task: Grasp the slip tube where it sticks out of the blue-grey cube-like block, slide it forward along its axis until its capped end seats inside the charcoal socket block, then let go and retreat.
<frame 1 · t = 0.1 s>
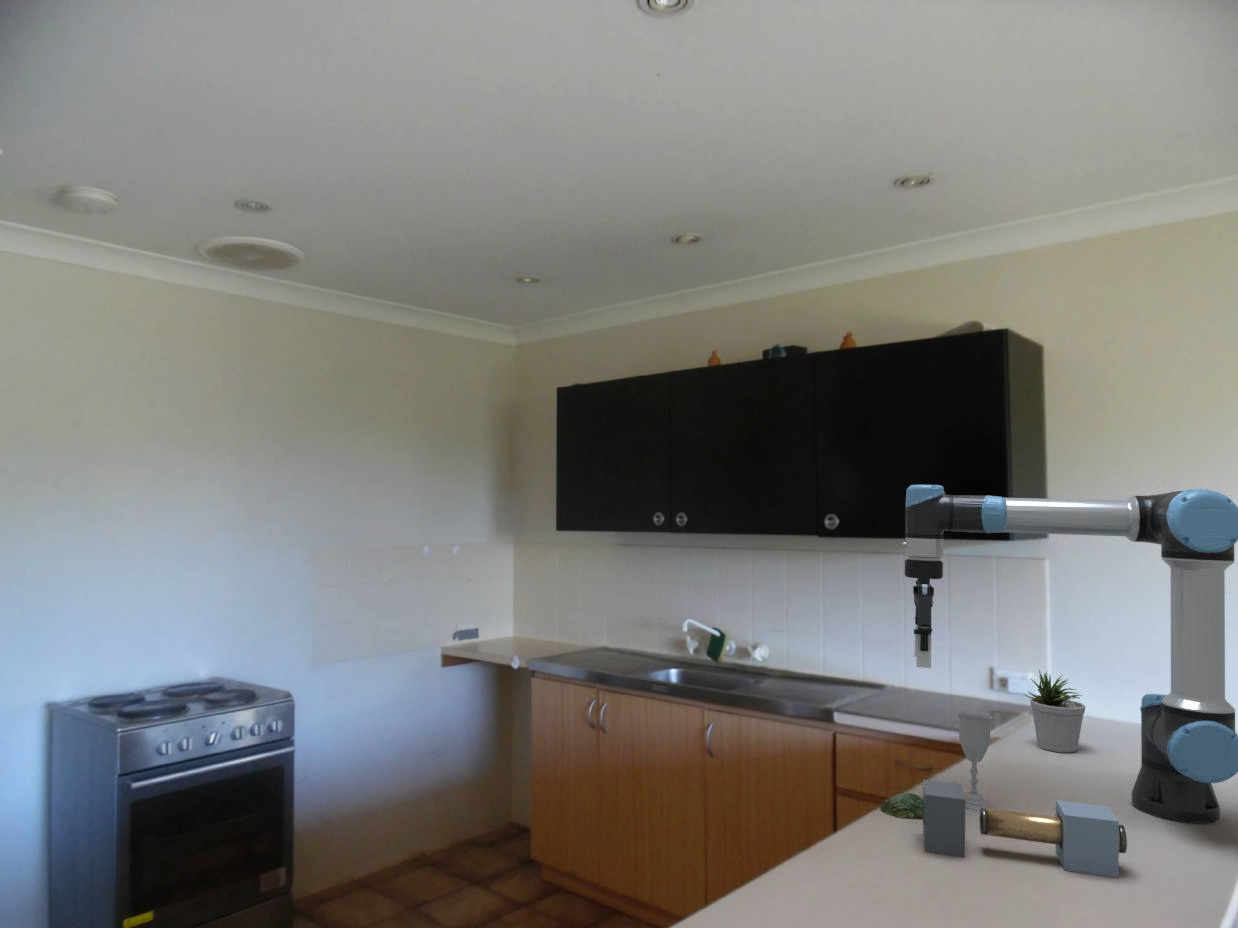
hand: (922, 661, 179), 28 cm above the table, fingers open, 13 cm apart
potted plant: (1054, 748, 221), on the table
seashell: (906, 813, 170), on the table
blue-grey cube-like block: (1086, 864, 146), on the table
chalice: (973, 806, 175), on the table
socket: (943, 844, 153), on the table
slip tube: (1050, 829, 148), point 5 cm above the table, slide at 0.0 cm
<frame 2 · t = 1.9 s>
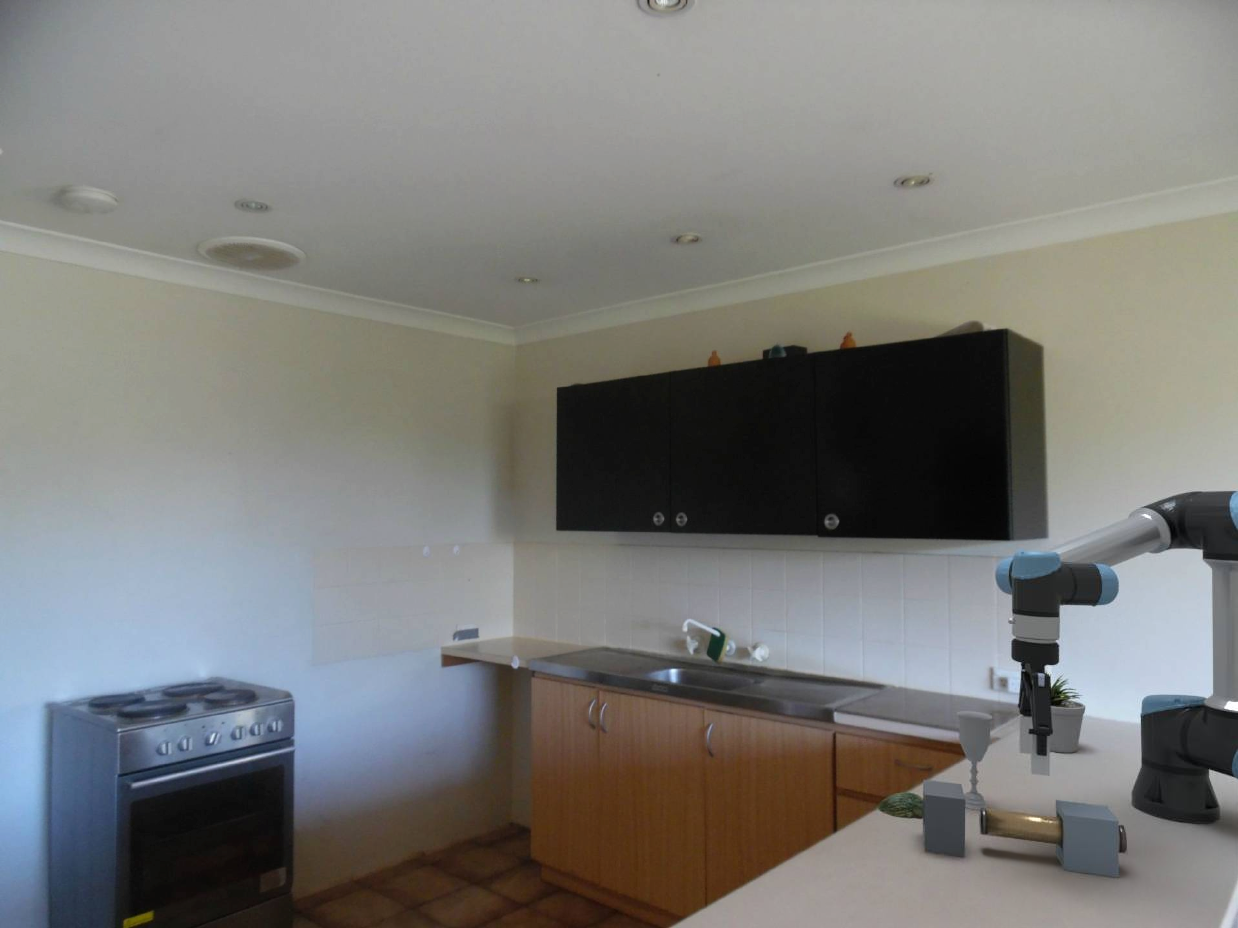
hand: (1033, 763, 150), 16 cm above the table, fingers open, 13 cm apart
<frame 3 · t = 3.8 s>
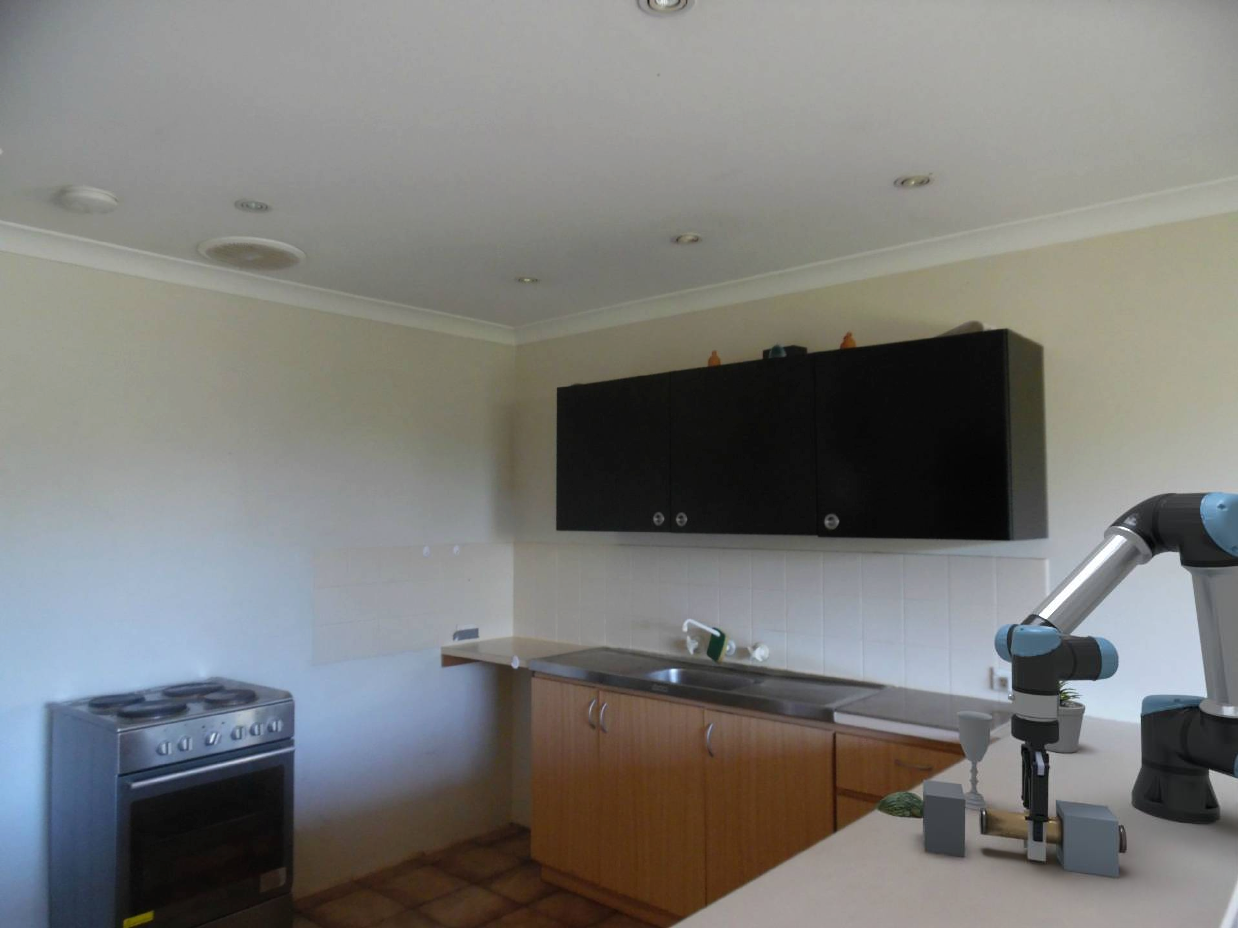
hand: (1034, 853, 149), 1 cm above the table, fingers closed on slip tube, 4 cm apart
slip tube: (1050, 829, 148), point 5 cm above the table, slide at 0.0 cm, touching gripper
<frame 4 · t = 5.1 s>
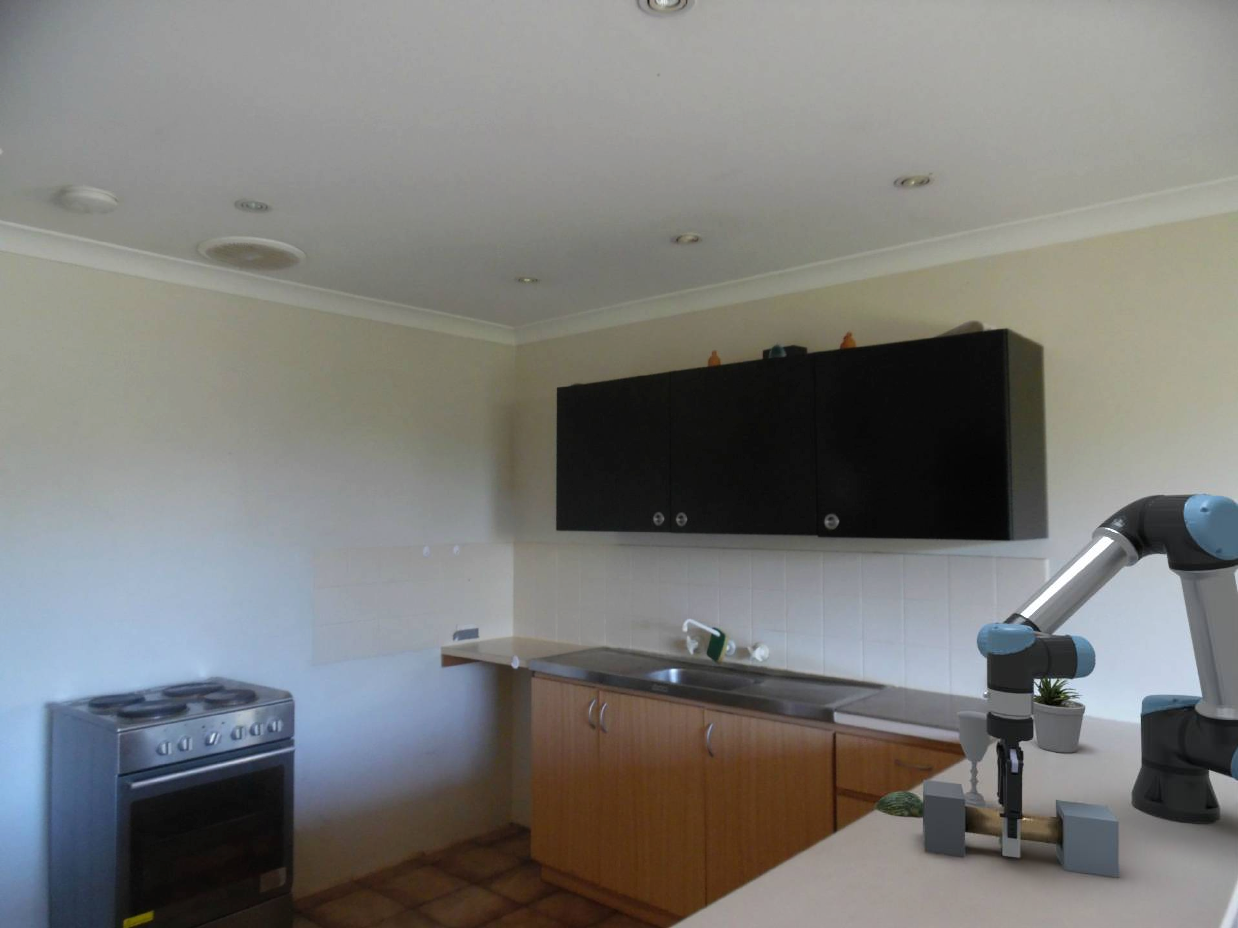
hand: (1009, 849, 150), 1 cm above the table, fingers closed on slip tube, 4 cm apart
slip tube: (1025, 826, 149), point 5 cm above the table, slide at 4.0 cm, touching gripper
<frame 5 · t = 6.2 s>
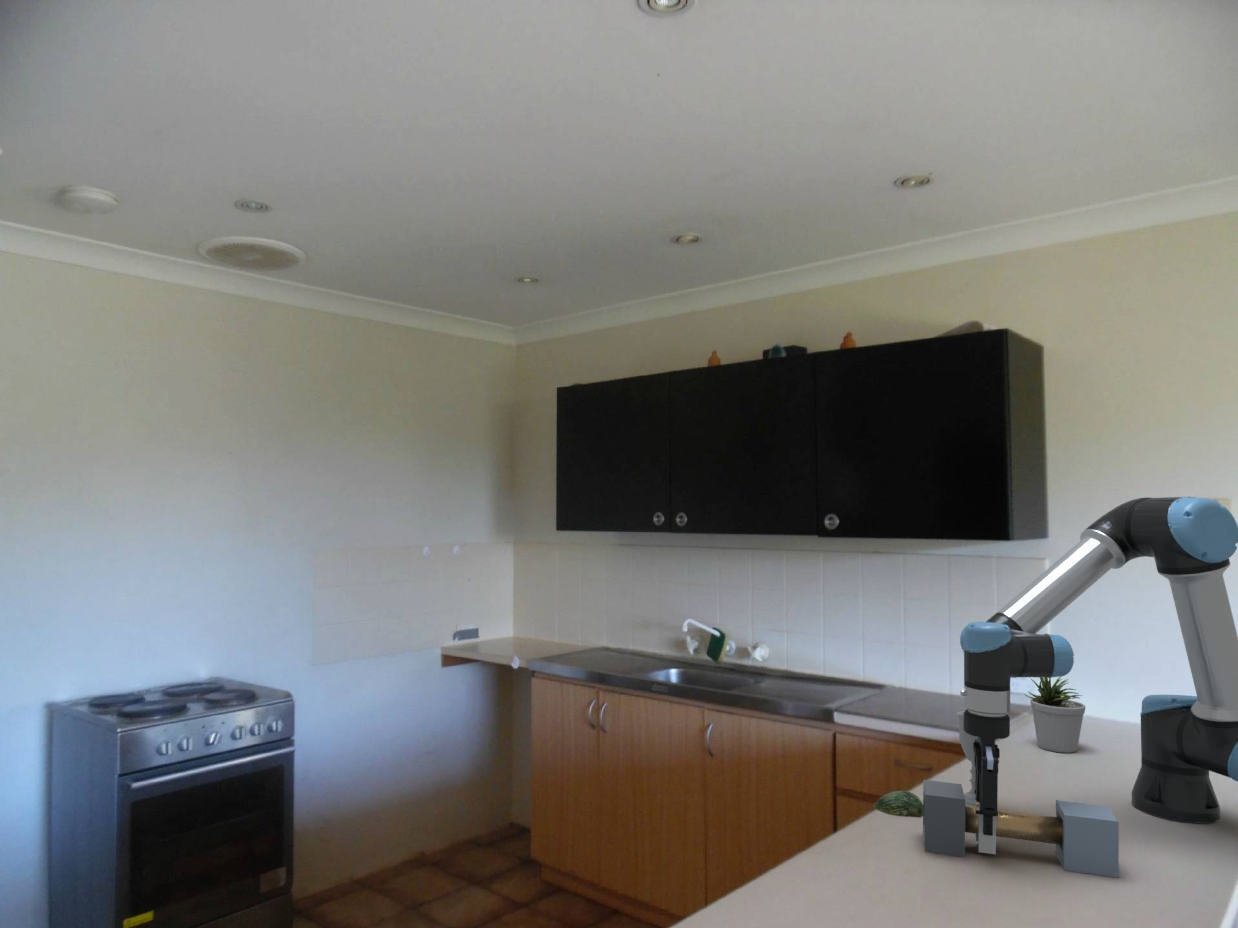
hand: (985, 846, 151), 1 cm above the table, fingers closed on slip tube, 4 cm apart
slip tube: (1001, 823, 151), point 5 cm above the table, slide at 7.8 cm, touching gripper
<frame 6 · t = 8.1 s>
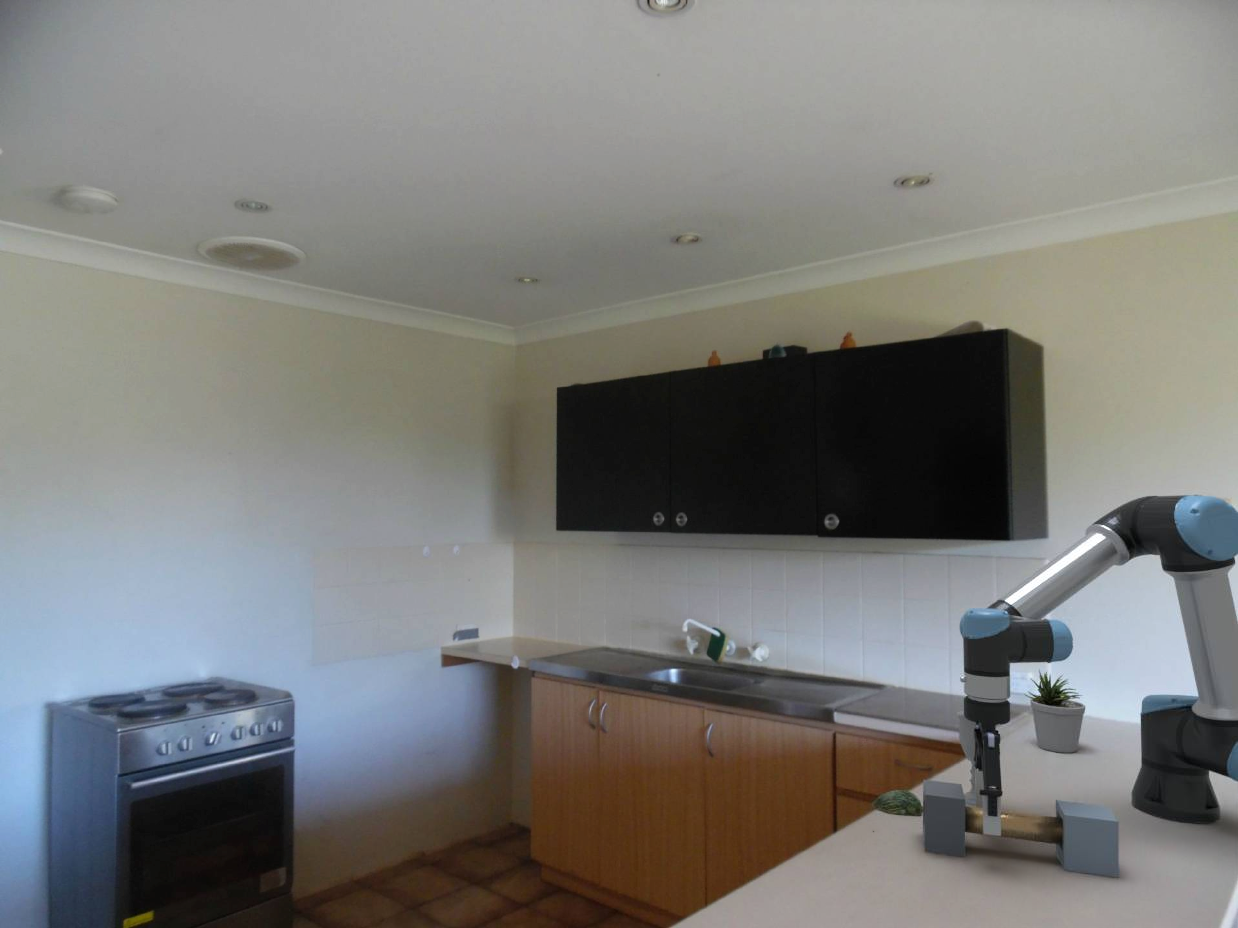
hand: (987, 820, 151), 5 cm above the table, fingers open, 13 cm apart
slip tube: (1001, 823, 151), point 5 cm above the table, slide at 7.8 cm
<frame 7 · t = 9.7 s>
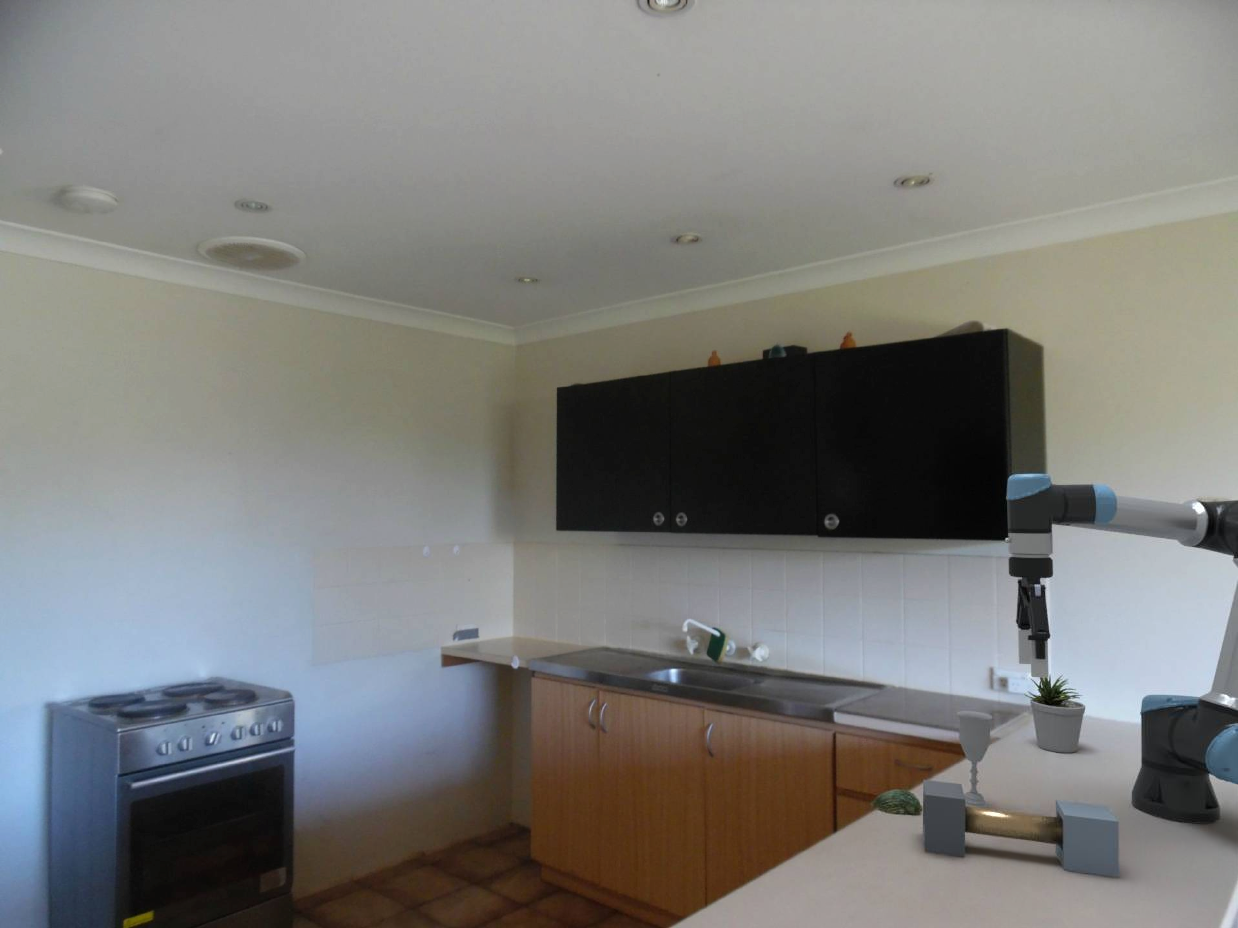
hand: (1033, 670, 161), 30 cm above the table, fingers open, 13 cm apart
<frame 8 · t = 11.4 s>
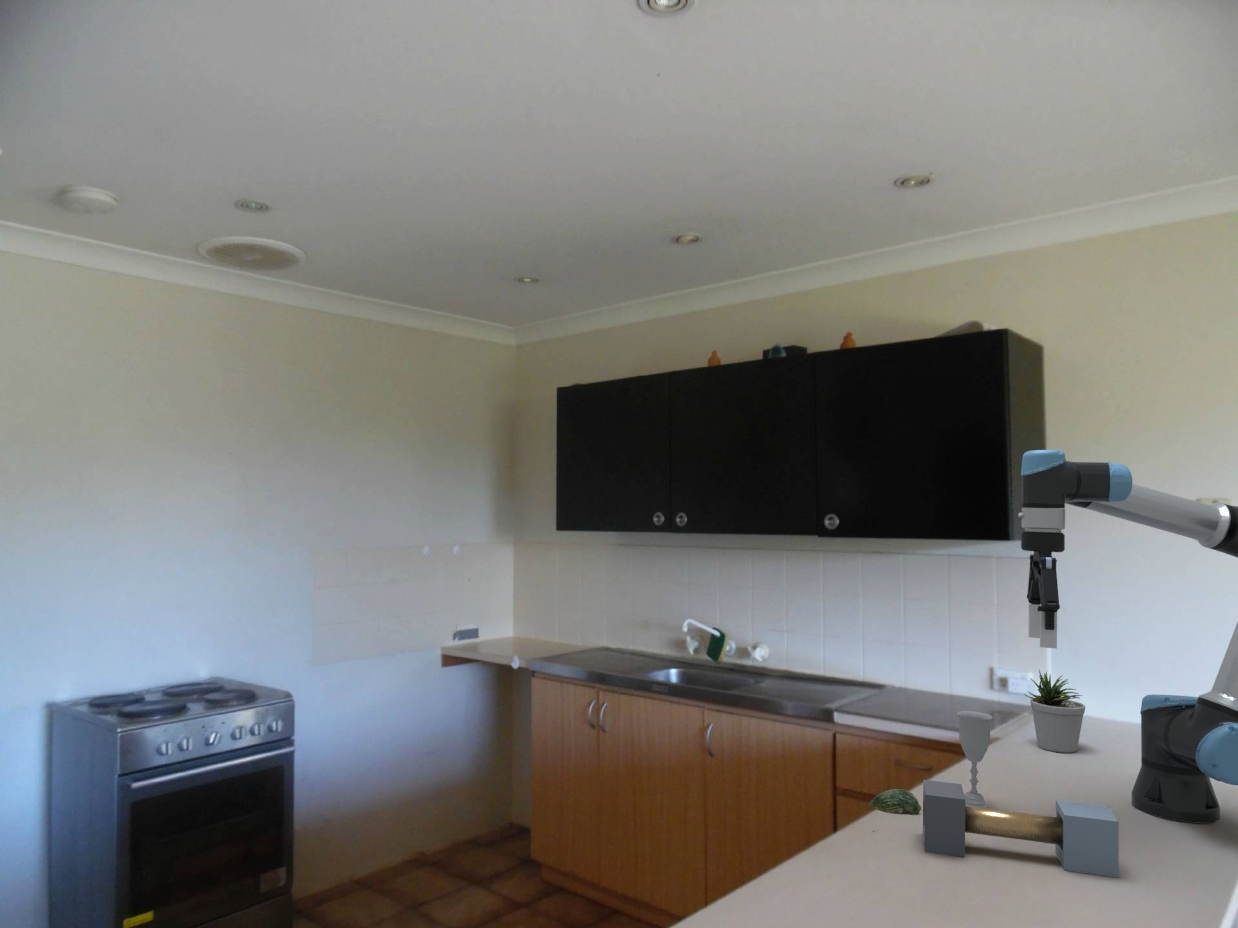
hand: (1042, 642, 165), 35 cm above the table, fingers open, 13 cm apart
at the end: slip tube slide at 7.8 cm; the gripper is holding nothing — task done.
